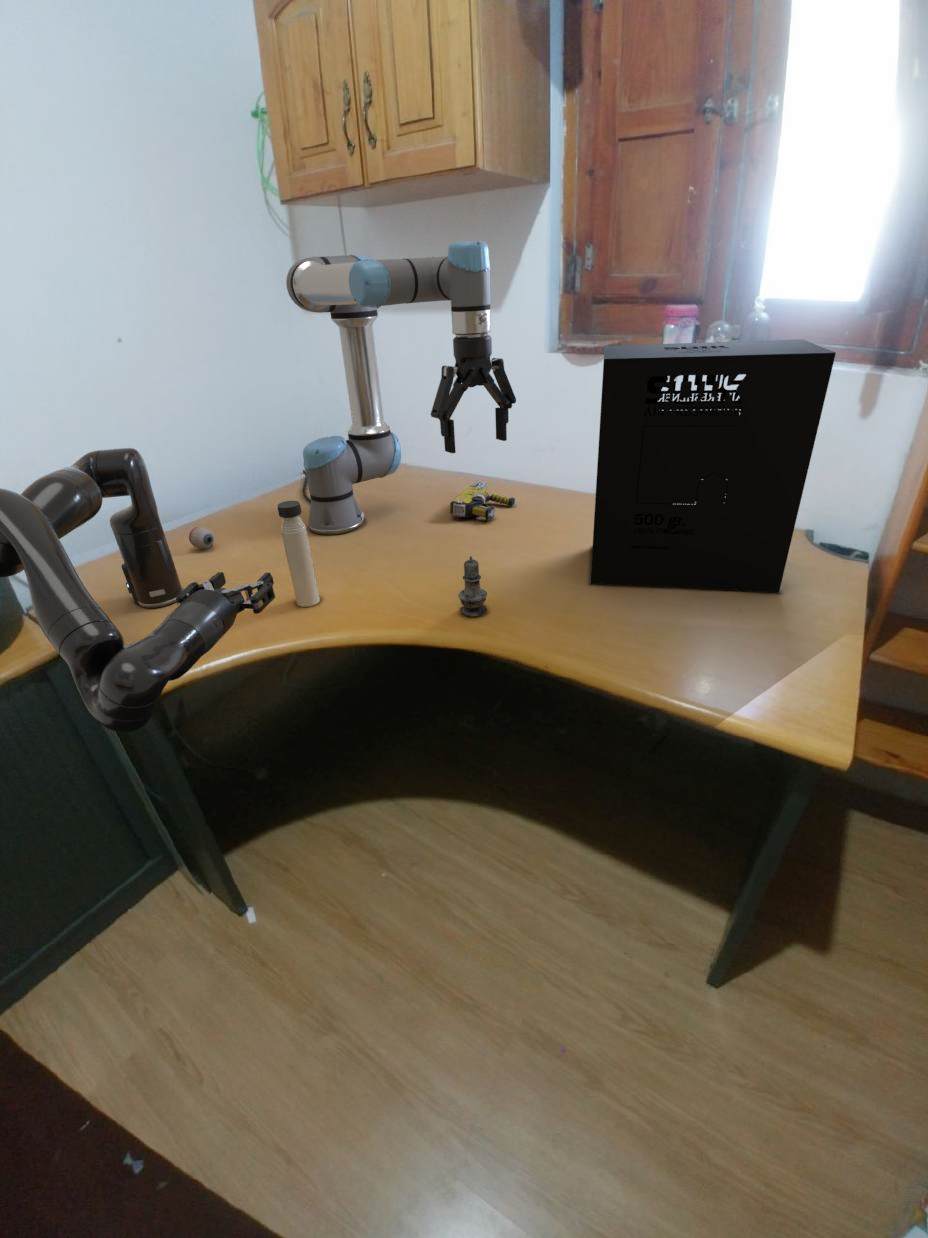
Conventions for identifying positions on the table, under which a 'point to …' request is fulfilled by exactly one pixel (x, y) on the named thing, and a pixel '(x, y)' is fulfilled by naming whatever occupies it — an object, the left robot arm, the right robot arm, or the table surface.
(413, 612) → the table surface
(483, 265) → the right robot arm
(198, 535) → the eyeball
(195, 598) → the left robot arm
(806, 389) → the cardboard box
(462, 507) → the toy gun
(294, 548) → the bottle
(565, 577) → the table surface
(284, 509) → the cap
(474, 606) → the dark grey tall piece
